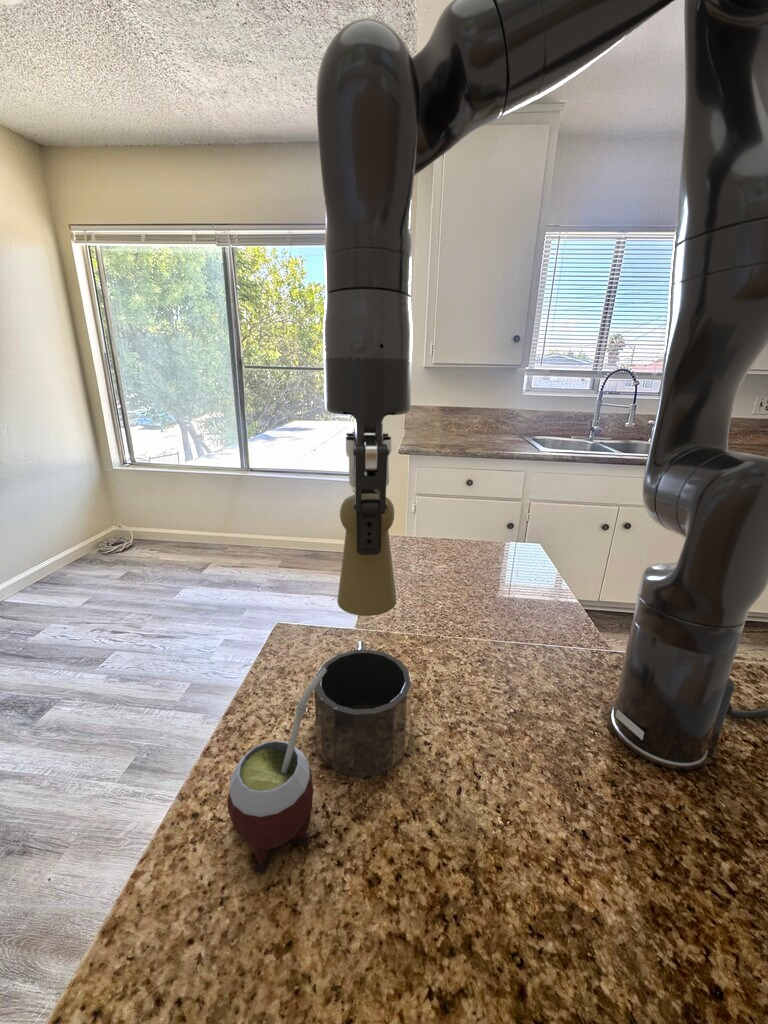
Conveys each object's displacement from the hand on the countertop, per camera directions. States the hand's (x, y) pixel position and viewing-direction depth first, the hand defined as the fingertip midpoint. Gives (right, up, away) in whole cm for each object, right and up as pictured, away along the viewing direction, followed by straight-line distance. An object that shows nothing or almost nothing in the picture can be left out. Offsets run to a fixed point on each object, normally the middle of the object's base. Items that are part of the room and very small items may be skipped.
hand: (367, 541), depth 41 cm
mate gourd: (-8, -26, -3) cm, 27 cm away
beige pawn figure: (0, -6, +2) cm, 7 cm away
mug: (-1, -23, +9) cm, 24 cm away
